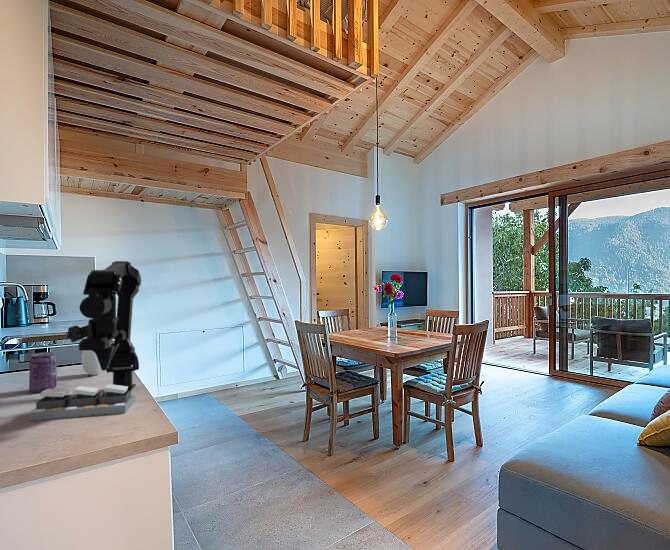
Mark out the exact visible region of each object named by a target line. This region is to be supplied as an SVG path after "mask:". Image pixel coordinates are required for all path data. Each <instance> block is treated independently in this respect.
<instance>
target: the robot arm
mask: <svg viewBox="0 0 670 550" xmlns="http://www.w3.org/2000/svg"><path fill="white" fill-rule="evenodd" d="M141 285H142V276H141V273H140V270H138V269H137V268H135V267H134V266H132V264H131V262H130V261H128V260H127V261H126V260H124V261H123V260H122V261H121V260H114V261H113V262H112V263H111V264H110V265H109V266H107V267H106V268H105V269H93V270H91V272H89V274H88V275H87V278H86V282H85V285H84V290H83V294H82V295H83V296H84V295H85V296H87V295H88V296H87V297H85V298H84V299H82V301H81V302H80V305H79V312H80V313H81V315H82V316H83V317H85V318H88V319H89V320H88V321H87V322H88V323H87V324H88V325H87V324H86V325H84V326H81V327H80V326H79V325H73V326H71V327H68V329H67V332H66V338H67V339H70V341H71V343H75V342H77V341H78V351H82V352H83V350H92V351H93V352H95V353H96V356H97V358H98V361H99V364H100V367H101V370H102V371H106V373H112V385H120V386H128V389H127V391H132V390H133V389H134V388H135V387H136V383H133V372H136V371H138V370H140V362H139V358H138V355H137V353H136V348H135V346H134V345H133V343H132V341H131V331H132V322H133V321H132V320H133V319H132V318H133V306H134V305H133V303H134V298H135V296H136V295H137V294H138V293H139V291H140V286H141ZM116 295H117V296H116ZM116 297H117V298H116Z"/></svg>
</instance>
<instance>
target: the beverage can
mask: <svg viewBox="0 0 670 550" xmlns="http://www.w3.org/2000/svg"><path fill="white" fill-rule="evenodd" d="M55 354H56V352H54V351H44V352H36V353H32V354H31V357H30V358H29V365H28V366H29V372H28V373H29V374H28V376H29V379H28V381H29V382H28V383H29V384H28V385H29V387H28V389H29V391H30V392H33V393H41V392H43V391H44V390H46V389H56V387H57V369H58V367H57V360H58V359H57V356H56V355H55Z"/></svg>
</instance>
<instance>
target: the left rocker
mask: <svg viewBox="0 0 670 550" xmlns="http://www.w3.org/2000/svg"><path fill="white" fill-rule="evenodd" d="M69 392H70V389H68V388H67V389H65V388H64V389H63V388H53V389H46V390H44V391H43V392H40V397H45V396H51V397H63V396H65V395H69Z"/></svg>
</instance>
